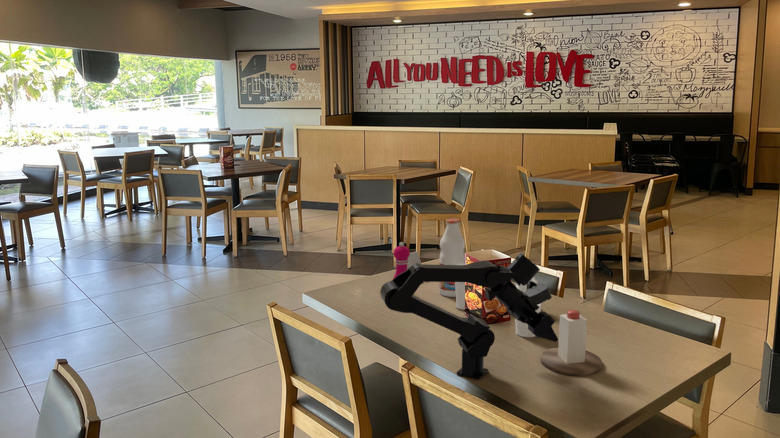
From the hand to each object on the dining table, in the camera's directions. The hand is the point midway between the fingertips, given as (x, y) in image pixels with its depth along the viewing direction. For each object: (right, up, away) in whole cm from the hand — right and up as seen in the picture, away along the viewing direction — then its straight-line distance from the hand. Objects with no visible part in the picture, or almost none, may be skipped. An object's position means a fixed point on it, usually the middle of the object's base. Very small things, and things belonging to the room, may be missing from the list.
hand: (548, 334), depth 167 cm
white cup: (-1, -4, +24) cm, 25 cm away
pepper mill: (-38, +3, +63) cm, 74 cm away
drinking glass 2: (-17, 0, +48) cm, 51 cm away
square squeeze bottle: (+7, -7, +3) cm, 10 cm away
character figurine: (+3, 0, +46) cm, 47 cm away
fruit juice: (-20, +3, +64) cm, 67 cm away
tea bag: (-34, +7, +86) cm, 92 cm away
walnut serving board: (+7, -8, +3) cm, 11 cm away
